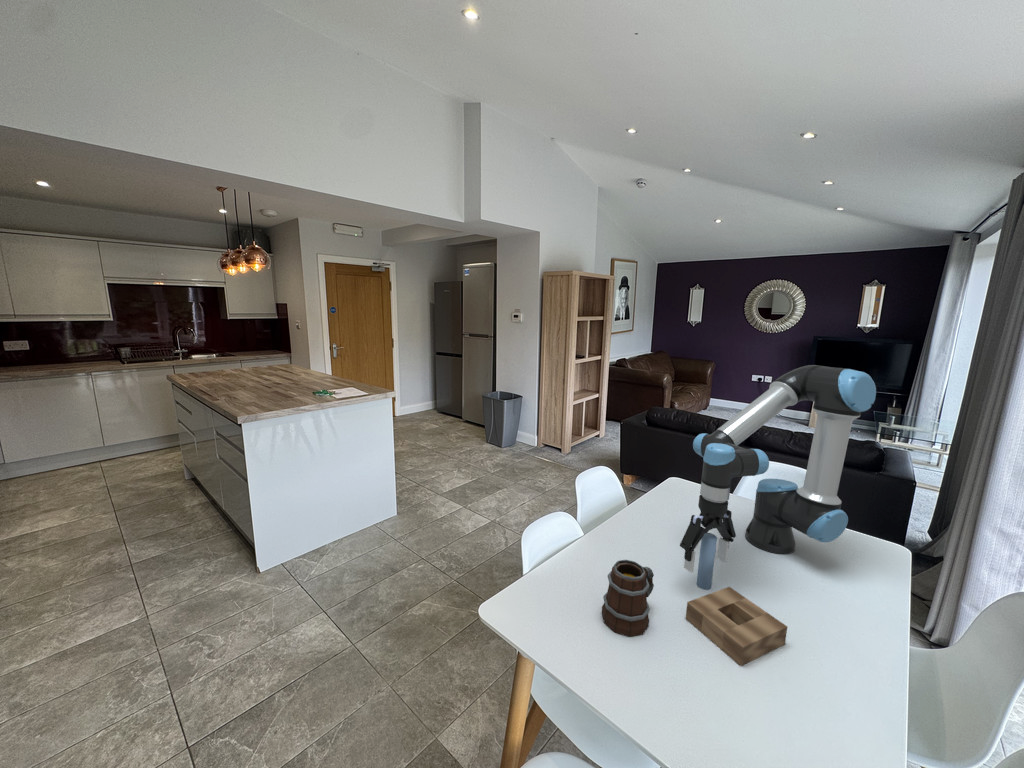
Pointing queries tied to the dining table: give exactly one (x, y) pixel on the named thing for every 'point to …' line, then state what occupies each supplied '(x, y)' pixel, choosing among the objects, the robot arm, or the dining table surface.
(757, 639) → the socket block
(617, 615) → the mug
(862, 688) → the dining table surface
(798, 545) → the dining table surface
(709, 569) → the peg
